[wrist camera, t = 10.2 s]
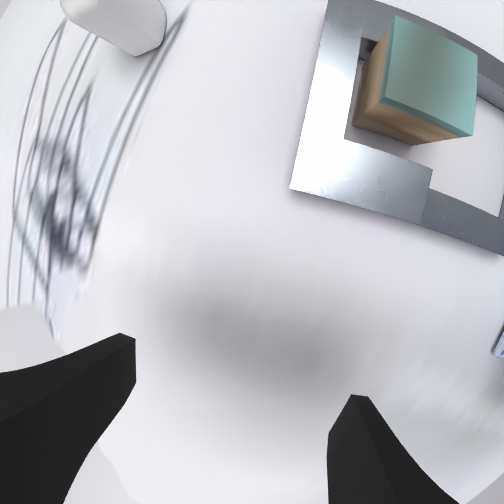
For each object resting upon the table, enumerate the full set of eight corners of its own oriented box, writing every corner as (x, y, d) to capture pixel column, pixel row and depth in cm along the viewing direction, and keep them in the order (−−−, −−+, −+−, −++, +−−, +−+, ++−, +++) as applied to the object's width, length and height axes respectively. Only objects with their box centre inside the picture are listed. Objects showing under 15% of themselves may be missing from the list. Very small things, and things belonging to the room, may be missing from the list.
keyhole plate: (522, 101, 12) (545, 96, 9) (498, 251, 15) (522, 263, 13) (326, 12, 13) (330, -12, 10) (290, 185, 17) (289, 188, 14)
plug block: (421, 88, 14) (477, 55, 7) (411, 145, 15) (472, 135, 8) (362, 66, 14) (395, 15, 8) (351, 124, 15) (385, 97, 9)
